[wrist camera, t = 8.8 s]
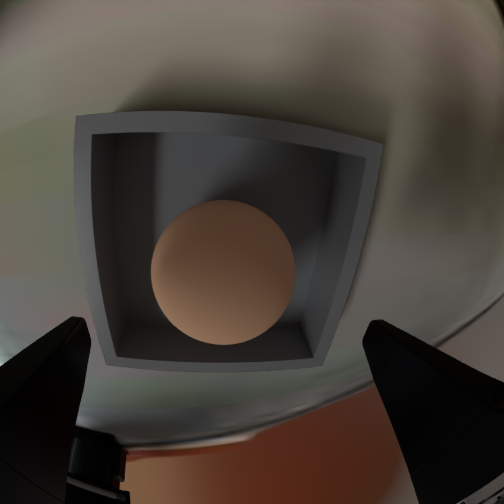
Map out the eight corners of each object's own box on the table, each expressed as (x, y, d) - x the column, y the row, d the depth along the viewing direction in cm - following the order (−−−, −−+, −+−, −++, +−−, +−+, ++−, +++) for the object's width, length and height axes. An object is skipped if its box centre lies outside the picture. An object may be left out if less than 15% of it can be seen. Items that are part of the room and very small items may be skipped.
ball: (163, 292, 15) (148, 373, 9) (162, 184, 12) (130, 223, 7) (267, 294, 16) (297, 371, 10) (283, 192, 14) (335, 234, 8)
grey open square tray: (118, 326, 16) (106, 365, 13) (105, 118, 11) (75, 115, 8) (305, 330, 18) (322, 365, 15) (346, 139, 13) (383, 144, 10)
